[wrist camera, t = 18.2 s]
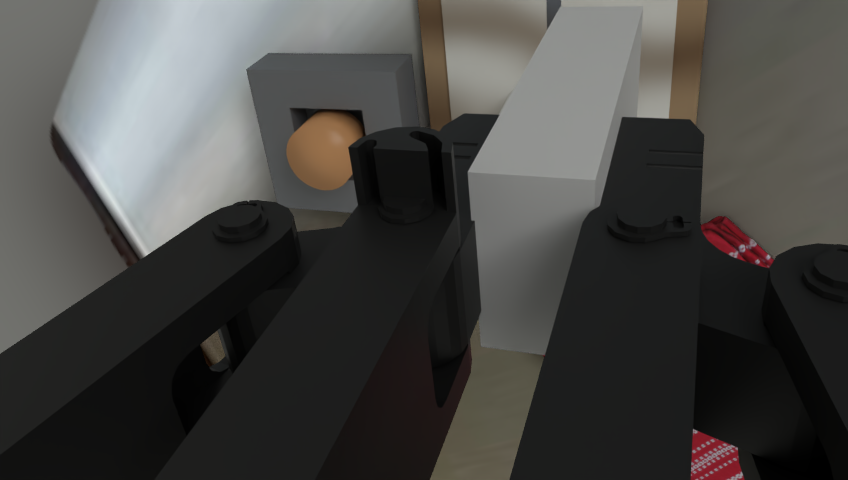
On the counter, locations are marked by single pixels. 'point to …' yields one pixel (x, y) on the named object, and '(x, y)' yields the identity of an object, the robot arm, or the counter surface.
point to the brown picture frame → (521, 35)
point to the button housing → (327, 89)
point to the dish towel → (711, 458)
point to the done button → (324, 148)
